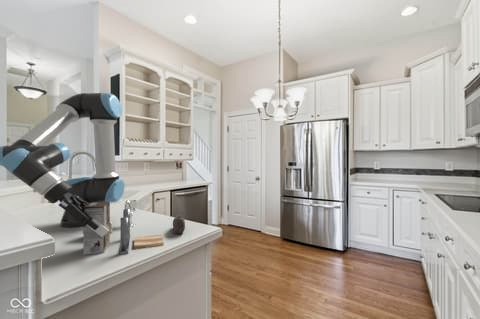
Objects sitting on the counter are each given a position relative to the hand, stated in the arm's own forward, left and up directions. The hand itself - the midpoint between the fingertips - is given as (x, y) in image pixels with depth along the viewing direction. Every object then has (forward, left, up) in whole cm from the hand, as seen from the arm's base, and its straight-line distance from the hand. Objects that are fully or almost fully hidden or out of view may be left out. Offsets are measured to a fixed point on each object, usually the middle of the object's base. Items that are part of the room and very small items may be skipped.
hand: (107, 229), depth 83 cm
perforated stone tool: (-11, +27, -7) cm, 30 cm away
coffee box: (0, -3, -7) cm, 7 cm away
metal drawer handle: (0, +6, -7) cm, 9 cm away
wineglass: (-29, +7, -7) cm, 31 cm away
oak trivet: (0, +14, -6) cm, 15 cm away
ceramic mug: (-17, -5, -7) cm, 19 cm away
